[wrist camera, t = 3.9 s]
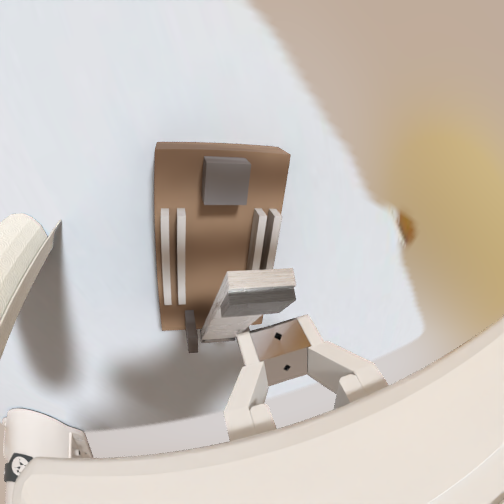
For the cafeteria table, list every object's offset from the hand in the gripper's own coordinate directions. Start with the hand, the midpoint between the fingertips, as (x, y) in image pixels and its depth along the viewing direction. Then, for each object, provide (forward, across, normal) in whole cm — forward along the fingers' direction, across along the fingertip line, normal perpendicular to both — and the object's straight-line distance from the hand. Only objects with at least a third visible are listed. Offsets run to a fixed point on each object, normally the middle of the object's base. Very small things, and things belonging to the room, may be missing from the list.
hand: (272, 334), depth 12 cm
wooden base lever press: (+16, +1, +4) cm, 17 cm away
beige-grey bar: (+7, +1, +5) cm, 9 cm away
